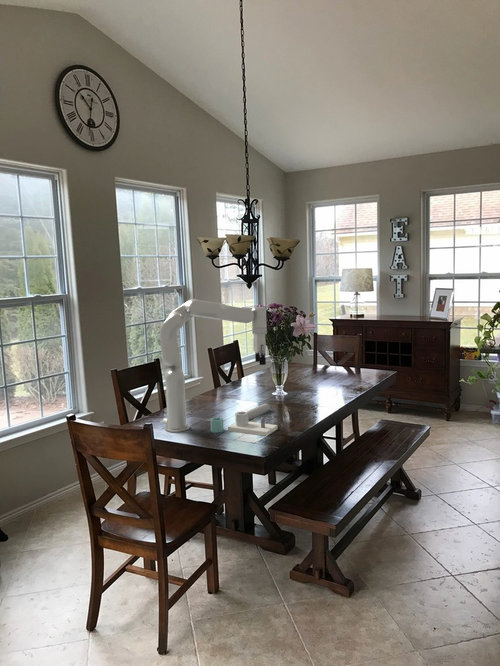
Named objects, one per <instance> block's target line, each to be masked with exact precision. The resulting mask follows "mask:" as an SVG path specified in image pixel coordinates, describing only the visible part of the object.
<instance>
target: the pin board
mask: <svg viewBox="0 0 500 666" xmlns="http://www.w3.org/2000/svg"><path fill="white" fill-rule="evenodd" d="M277 430H278V425H277V424H271V423H266V418H265V417H264V416H261V417H260V422H256V421H248V425H247V426H242V427H240V426H236V422H234V423H232V424H230V425H228V426H227V432H233V433H234V432H235V433H242V434H251V435H256V436H264V437H267V436H269V435H270V434H272V433H274V432H275V431H277Z"/></svg>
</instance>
